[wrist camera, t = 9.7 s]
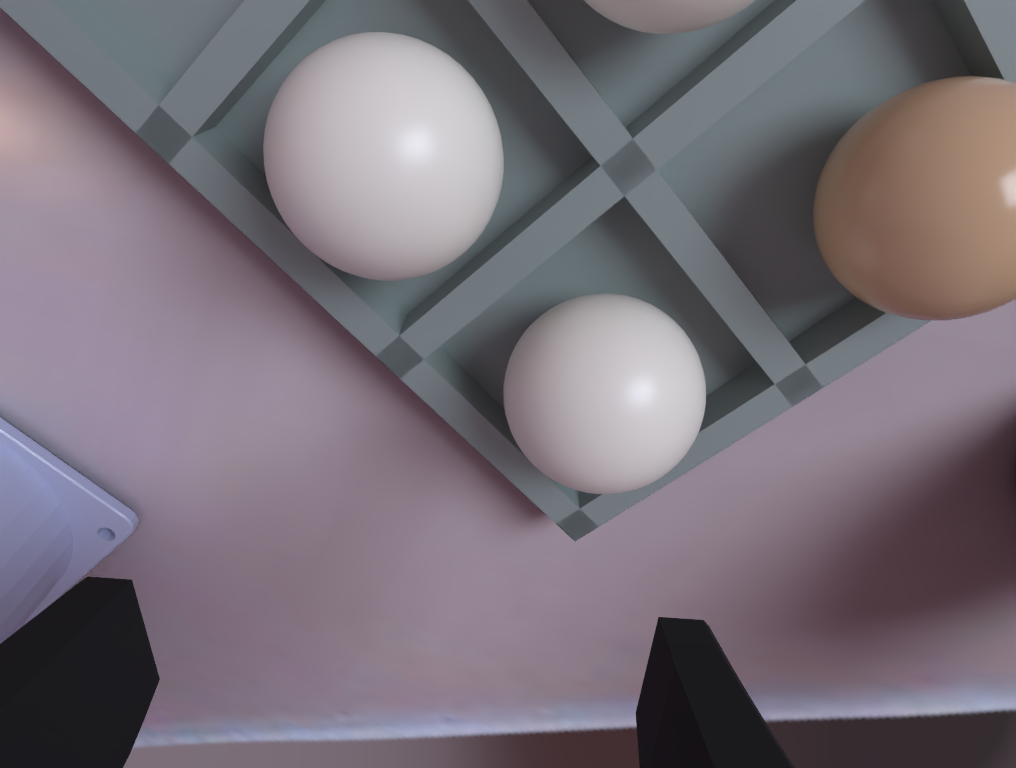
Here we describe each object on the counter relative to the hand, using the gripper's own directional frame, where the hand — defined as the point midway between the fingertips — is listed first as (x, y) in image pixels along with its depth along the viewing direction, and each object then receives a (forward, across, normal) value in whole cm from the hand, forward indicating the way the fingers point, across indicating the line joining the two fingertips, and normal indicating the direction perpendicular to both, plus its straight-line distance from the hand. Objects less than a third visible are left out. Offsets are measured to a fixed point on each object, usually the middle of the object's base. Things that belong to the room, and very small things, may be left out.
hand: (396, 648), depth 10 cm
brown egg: (+9, -8, -5) cm, 13 cm away
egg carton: (+9, -1, -7) cm, 12 cm away
